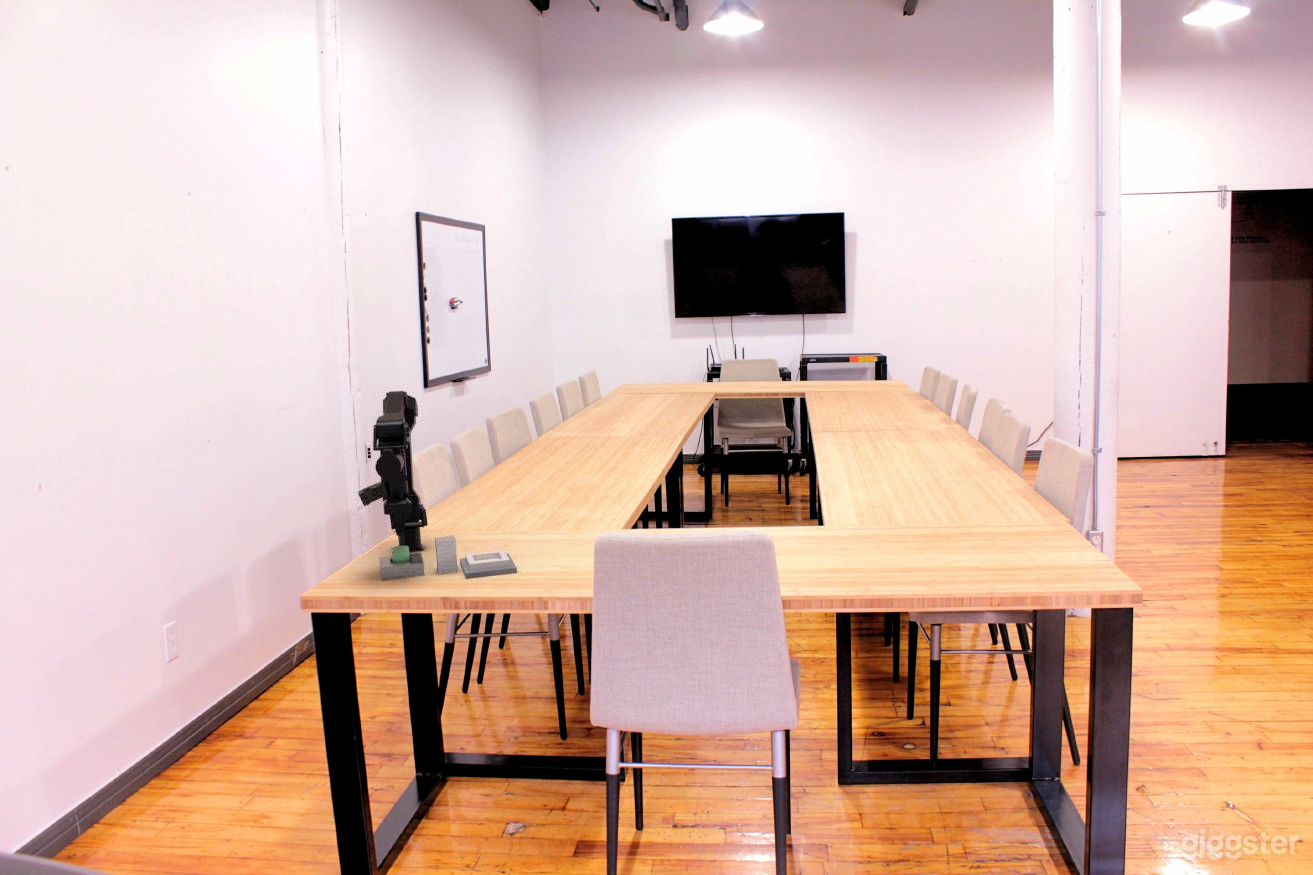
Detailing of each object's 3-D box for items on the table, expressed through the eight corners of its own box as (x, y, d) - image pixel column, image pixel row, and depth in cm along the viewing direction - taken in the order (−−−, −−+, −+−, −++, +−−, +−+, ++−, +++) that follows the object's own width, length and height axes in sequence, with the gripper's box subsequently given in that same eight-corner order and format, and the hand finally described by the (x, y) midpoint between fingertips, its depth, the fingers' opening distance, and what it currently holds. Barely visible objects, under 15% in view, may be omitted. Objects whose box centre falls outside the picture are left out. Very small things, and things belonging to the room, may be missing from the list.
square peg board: (380, 569, 242) (379, 557, 241) (421, 564, 244) (421, 552, 244) (380, 579, 232) (379, 567, 232) (424, 575, 235) (423, 562, 234)
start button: (392, 562, 239) (391, 546, 239) (409, 560, 240) (408, 544, 240) (393, 567, 235) (391, 550, 235) (410, 565, 237) (409, 548, 236)
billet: (437, 569, 239) (434, 537, 238) (456, 567, 241) (453, 535, 239) (438, 574, 235) (436, 541, 234) (457, 572, 236) (455, 539, 235)
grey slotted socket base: (460, 563, 244) (459, 552, 244) (508, 557, 247) (507, 547, 247) (465, 578, 231) (464, 567, 230) (517, 572, 234) (516, 561, 234)
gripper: (358, 467, 241) (364, 530, 244) (358, 481, 223) (364, 548, 226) (405, 464, 244) (410, 525, 247) (409, 477, 227) (414, 543, 229)
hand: (399, 535), depth 237 cm, fingers closed
